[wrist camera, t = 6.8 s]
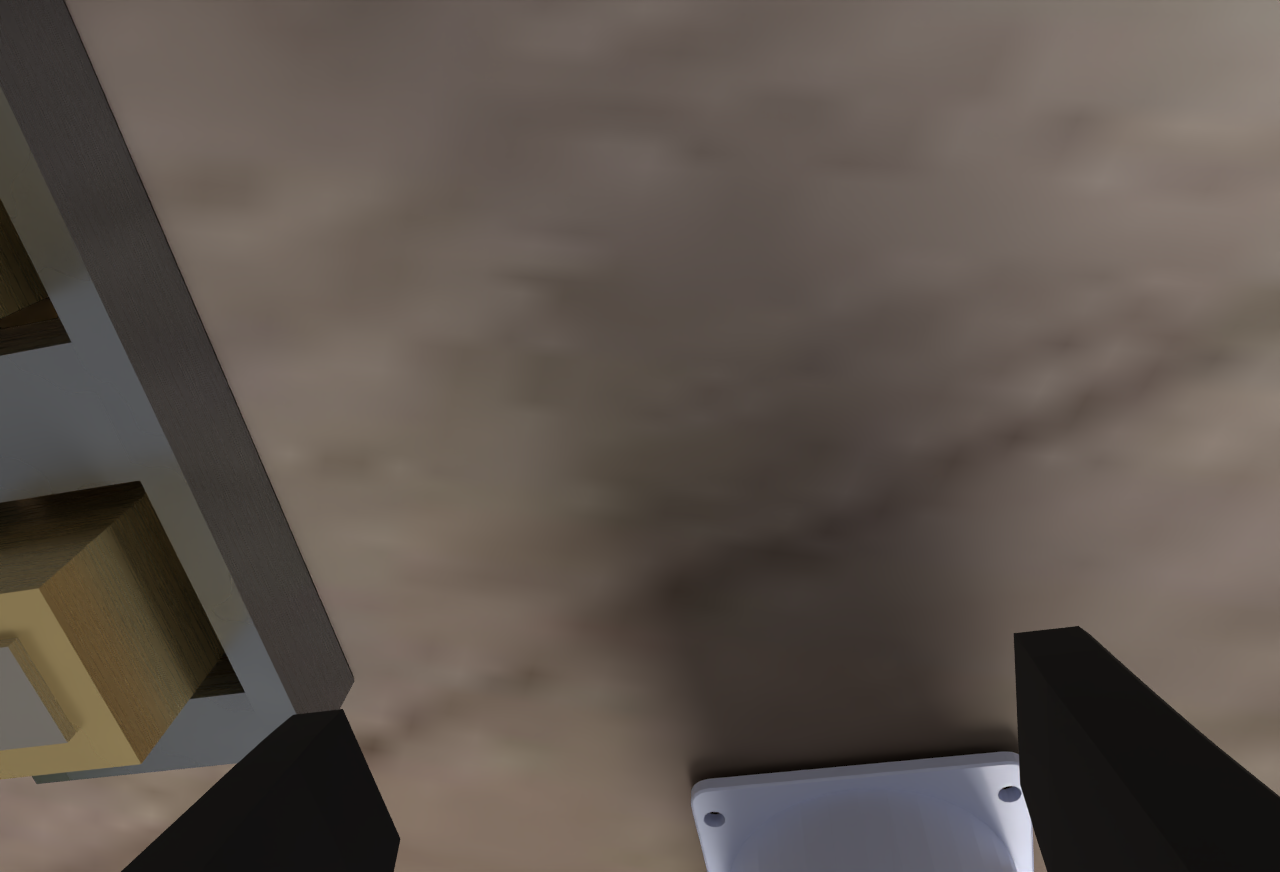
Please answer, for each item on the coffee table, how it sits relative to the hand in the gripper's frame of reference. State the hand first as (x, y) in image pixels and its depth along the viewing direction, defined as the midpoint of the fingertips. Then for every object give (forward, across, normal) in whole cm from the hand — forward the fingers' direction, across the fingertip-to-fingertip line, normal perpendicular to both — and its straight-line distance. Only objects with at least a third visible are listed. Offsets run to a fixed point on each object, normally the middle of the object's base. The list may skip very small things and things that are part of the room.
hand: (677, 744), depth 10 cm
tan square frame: (+10, +13, +2) cm, 16 cm away
